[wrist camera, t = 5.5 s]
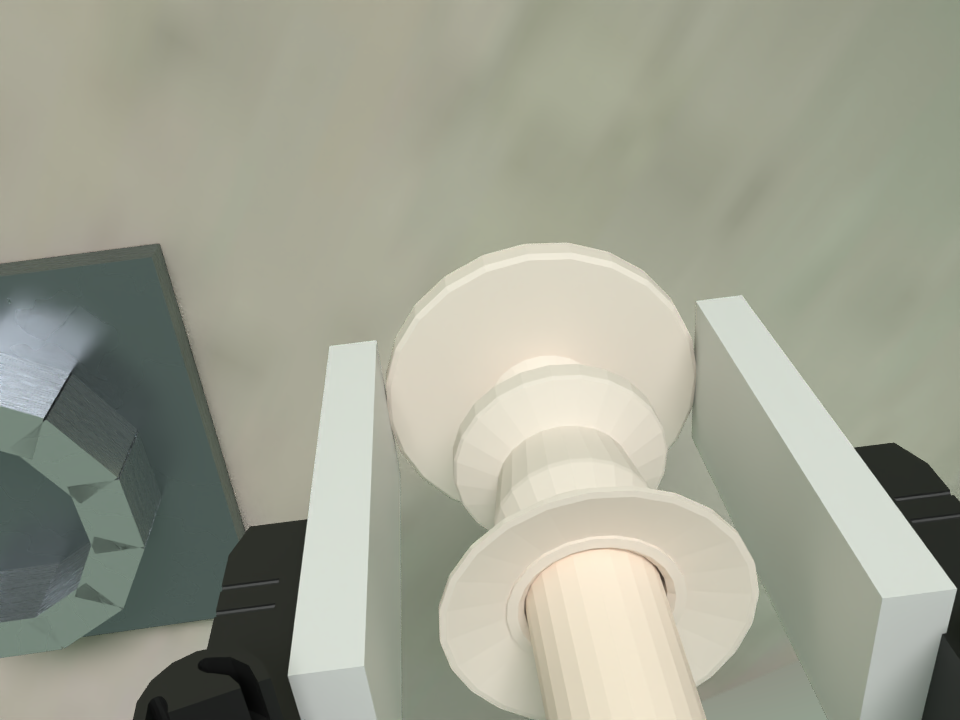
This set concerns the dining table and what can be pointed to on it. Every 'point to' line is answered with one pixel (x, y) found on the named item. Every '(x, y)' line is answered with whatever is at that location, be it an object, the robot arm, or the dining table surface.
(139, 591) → the ring stand
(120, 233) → the dining table surface
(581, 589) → the candle
